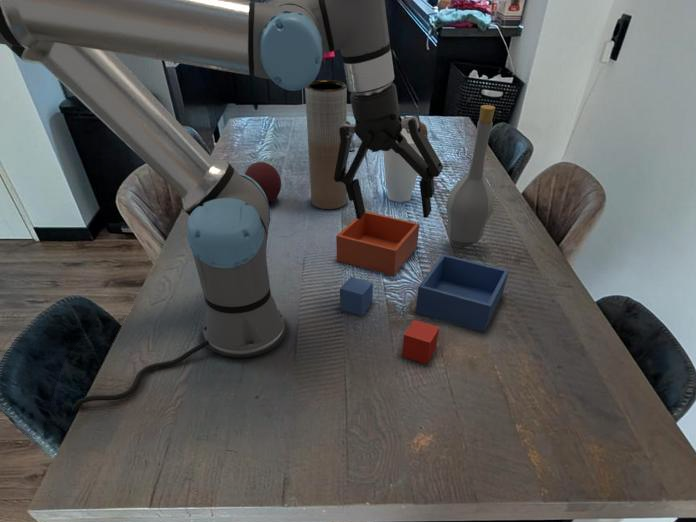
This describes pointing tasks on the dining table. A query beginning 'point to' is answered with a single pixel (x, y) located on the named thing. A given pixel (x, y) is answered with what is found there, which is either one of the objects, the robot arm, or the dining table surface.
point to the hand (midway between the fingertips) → (393, 215)
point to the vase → (325, 140)
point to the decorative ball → (265, 179)
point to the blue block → (356, 296)
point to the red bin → (377, 242)
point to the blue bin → (461, 292)
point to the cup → (399, 173)
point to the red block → (420, 341)
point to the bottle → (472, 191)
